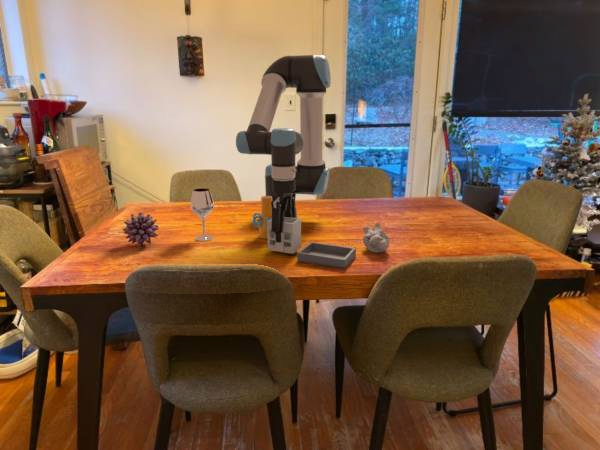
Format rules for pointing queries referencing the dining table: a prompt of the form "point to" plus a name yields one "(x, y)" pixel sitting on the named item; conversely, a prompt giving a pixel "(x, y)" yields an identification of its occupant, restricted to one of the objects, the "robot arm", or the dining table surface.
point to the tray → (326, 255)
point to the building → (291, 232)
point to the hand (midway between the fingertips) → (284, 247)
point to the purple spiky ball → (140, 228)
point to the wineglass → (202, 208)
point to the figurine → (375, 239)
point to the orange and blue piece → (263, 216)
